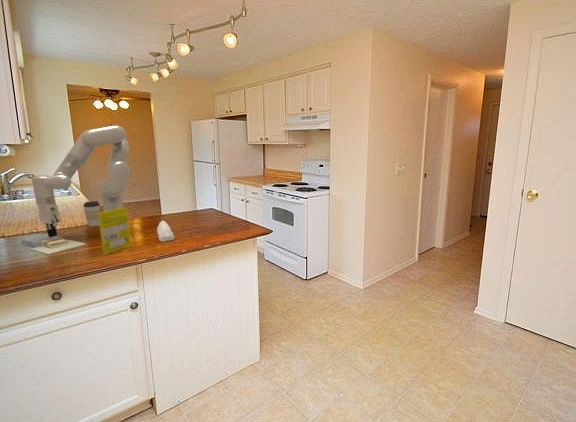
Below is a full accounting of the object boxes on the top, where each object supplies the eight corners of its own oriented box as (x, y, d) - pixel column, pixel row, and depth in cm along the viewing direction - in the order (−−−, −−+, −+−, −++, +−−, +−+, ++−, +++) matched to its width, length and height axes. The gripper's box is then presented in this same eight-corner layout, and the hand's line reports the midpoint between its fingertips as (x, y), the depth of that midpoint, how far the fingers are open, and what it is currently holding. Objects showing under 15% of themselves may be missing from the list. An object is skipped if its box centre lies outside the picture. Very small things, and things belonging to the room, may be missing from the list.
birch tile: (68, 244, 155) (67, 240, 154) (52, 248, 149) (51, 244, 148) (57, 242, 159) (56, 237, 159) (41, 245, 153) (40, 241, 153)
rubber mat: (86, 244, 157) (86, 243, 157) (48, 254, 142) (48, 253, 142) (68, 240, 164) (68, 239, 164) (30, 249, 149) (30, 248, 149)
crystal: (178, 233, 163) (172, 223, 184) (165, 228, 160) (161, 219, 181) (171, 246, 163) (167, 234, 184) (158, 241, 159) (155, 230, 180)
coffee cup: (85, 227, 190) (82, 203, 187) (85, 224, 198) (82, 201, 195) (102, 225, 195) (99, 202, 192) (102, 222, 203) (99, 199, 199)
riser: (63, 241, 162) (62, 236, 161) (36, 247, 151) (35, 243, 151) (48, 237, 168) (48, 233, 167) (22, 243, 158) (21, 239, 157)
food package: (130, 245, 155) (126, 206, 151) (131, 245, 155) (127, 207, 151) (102, 255, 141) (97, 212, 137) (104, 255, 141) (98, 213, 137)
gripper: (62, 200, 151) (69, 236, 155) (46, 198, 158) (53, 232, 162) (45, 203, 145) (52, 240, 149) (29, 201, 151) (36, 236, 155)
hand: (52, 236), depth 155 cm, fingers closed
